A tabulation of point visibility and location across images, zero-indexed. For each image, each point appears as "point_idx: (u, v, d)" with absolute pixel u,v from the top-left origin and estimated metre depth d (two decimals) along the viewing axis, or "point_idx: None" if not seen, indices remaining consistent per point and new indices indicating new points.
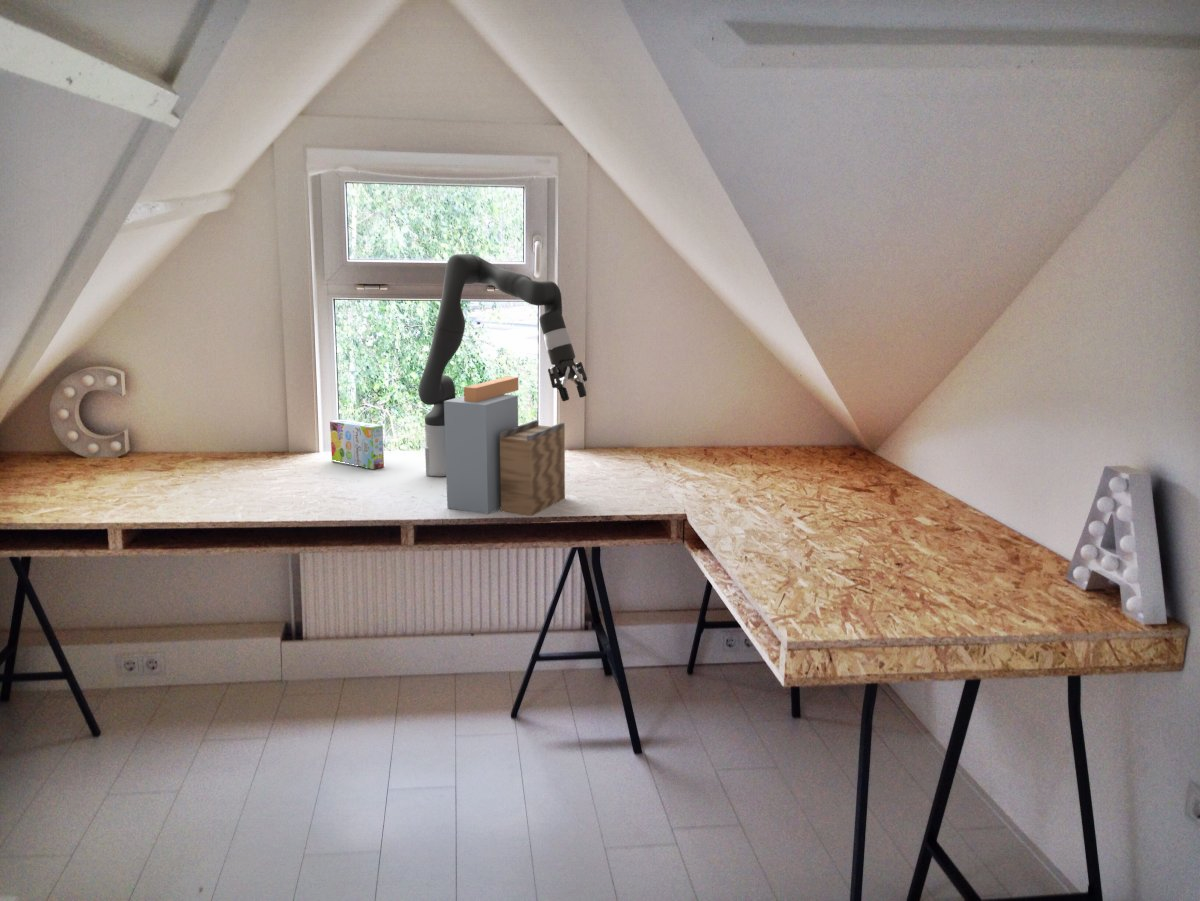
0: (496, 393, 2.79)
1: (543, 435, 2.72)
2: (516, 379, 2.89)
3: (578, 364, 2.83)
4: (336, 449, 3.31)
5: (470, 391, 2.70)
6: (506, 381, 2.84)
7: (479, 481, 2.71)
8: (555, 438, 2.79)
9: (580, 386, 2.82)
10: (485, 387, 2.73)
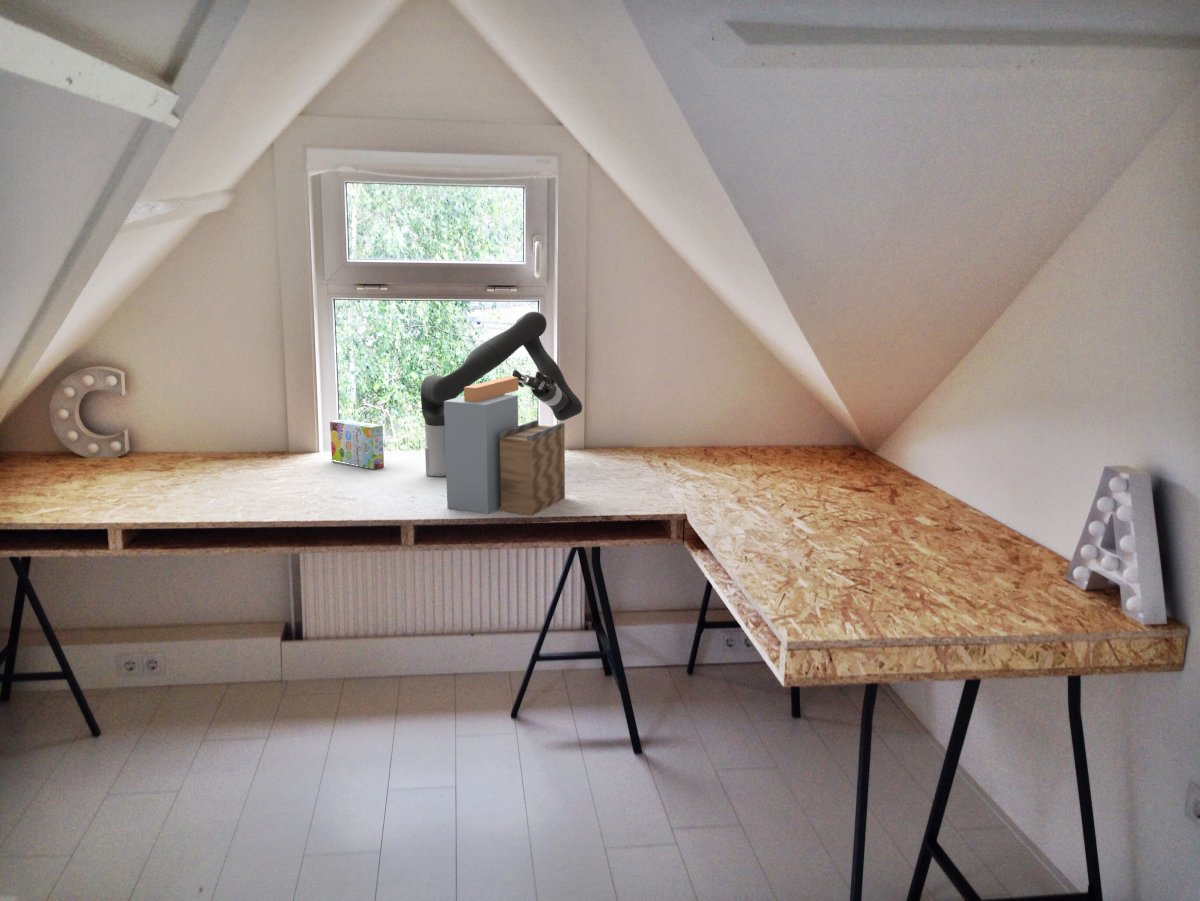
0: (496, 393, 2.79)
1: (543, 435, 2.72)
2: (516, 379, 2.89)
3: (523, 385, 3.16)
4: (336, 449, 3.31)
5: (470, 391, 2.70)
6: (506, 381, 2.84)
7: (479, 481, 2.71)
8: (555, 438, 2.79)
9: (519, 377, 3.10)
10: (485, 387, 2.73)
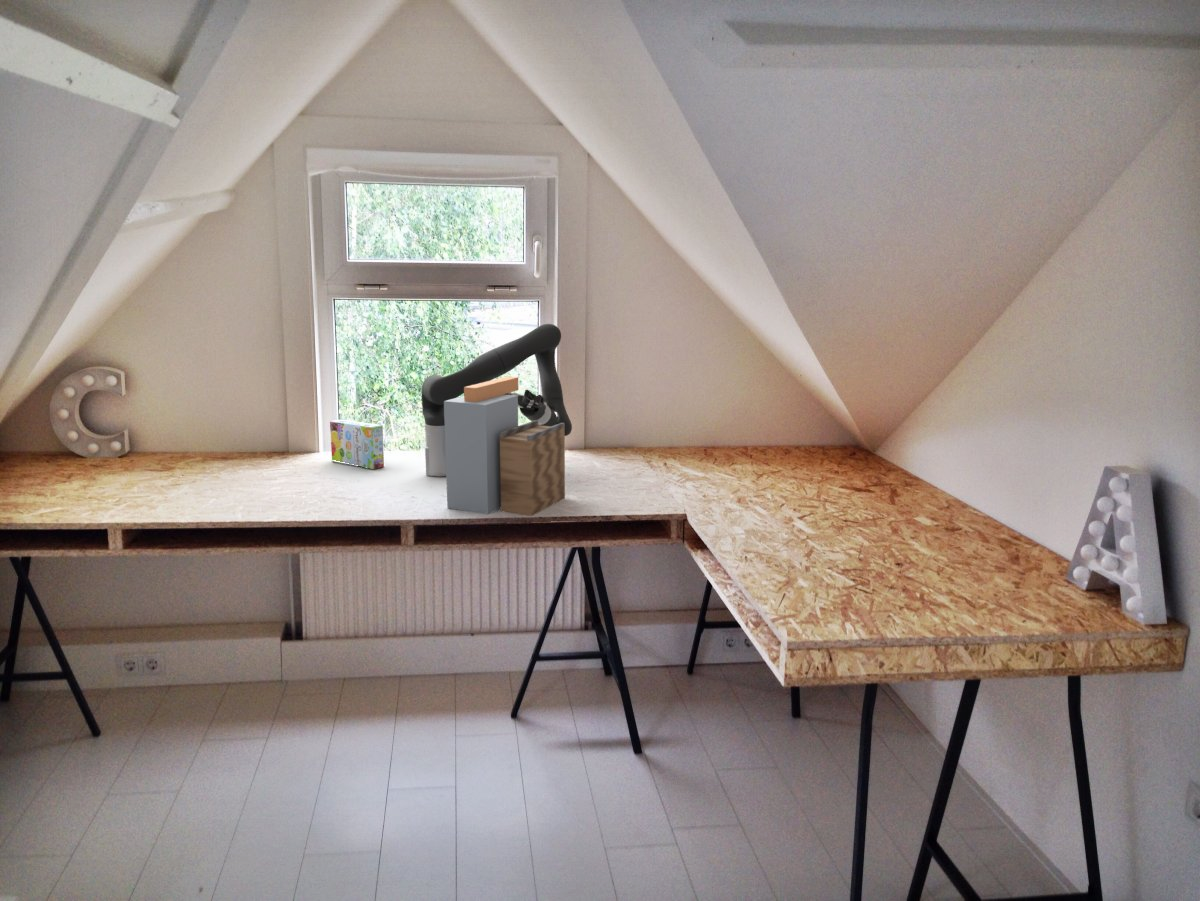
0: (496, 393, 2.79)
1: (543, 435, 2.72)
2: (516, 379, 2.89)
3: None
4: (336, 449, 3.31)
5: (470, 391, 2.70)
6: (506, 381, 2.84)
7: (479, 481, 2.71)
8: (555, 438, 2.79)
9: None
10: (485, 387, 2.73)
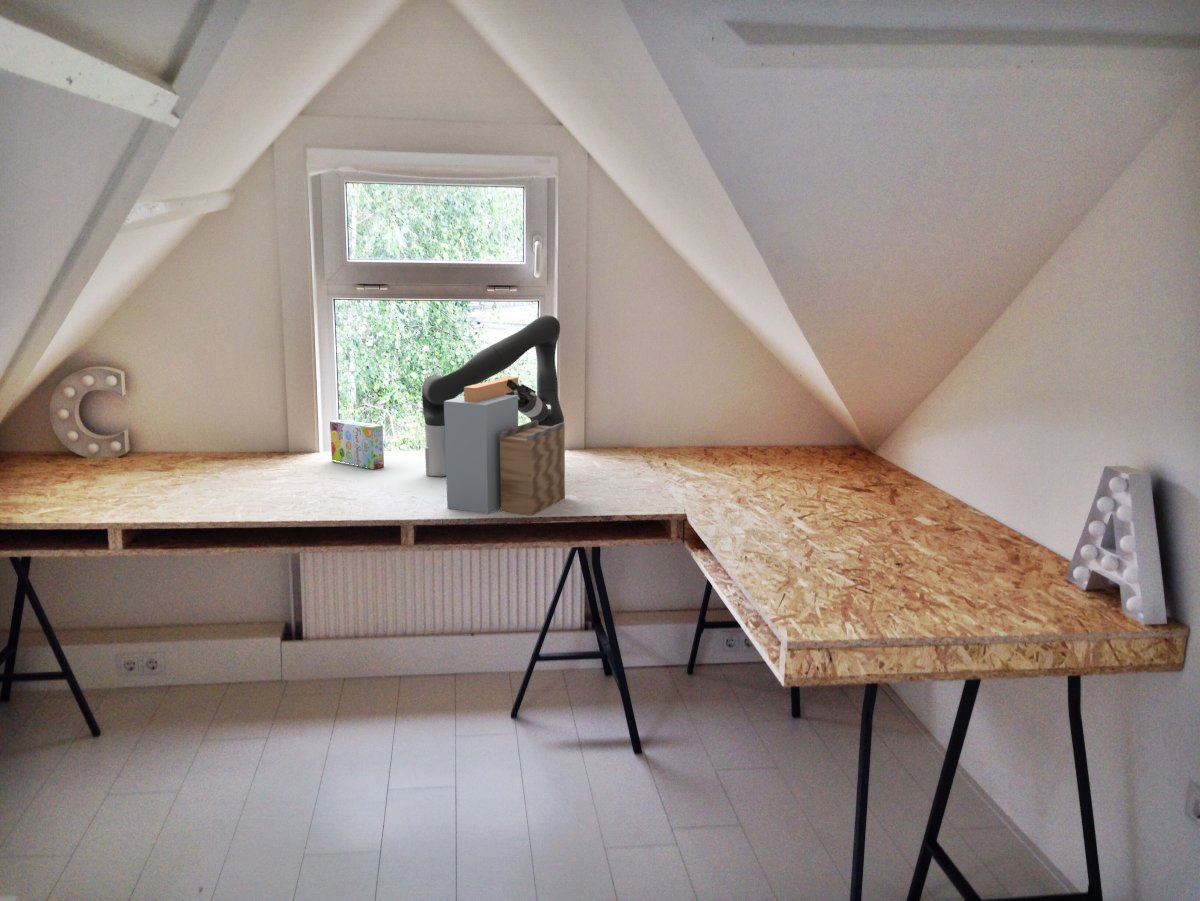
0: (496, 393, 2.79)
1: (543, 435, 2.72)
2: (516, 379, 2.89)
3: None
4: (336, 449, 3.31)
5: (470, 391, 2.70)
6: (506, 381, 2.84)
7: (479, 481, 2.71)
8: (555, 438, 2.79)
9: None
10: (485, 387, 2.73)
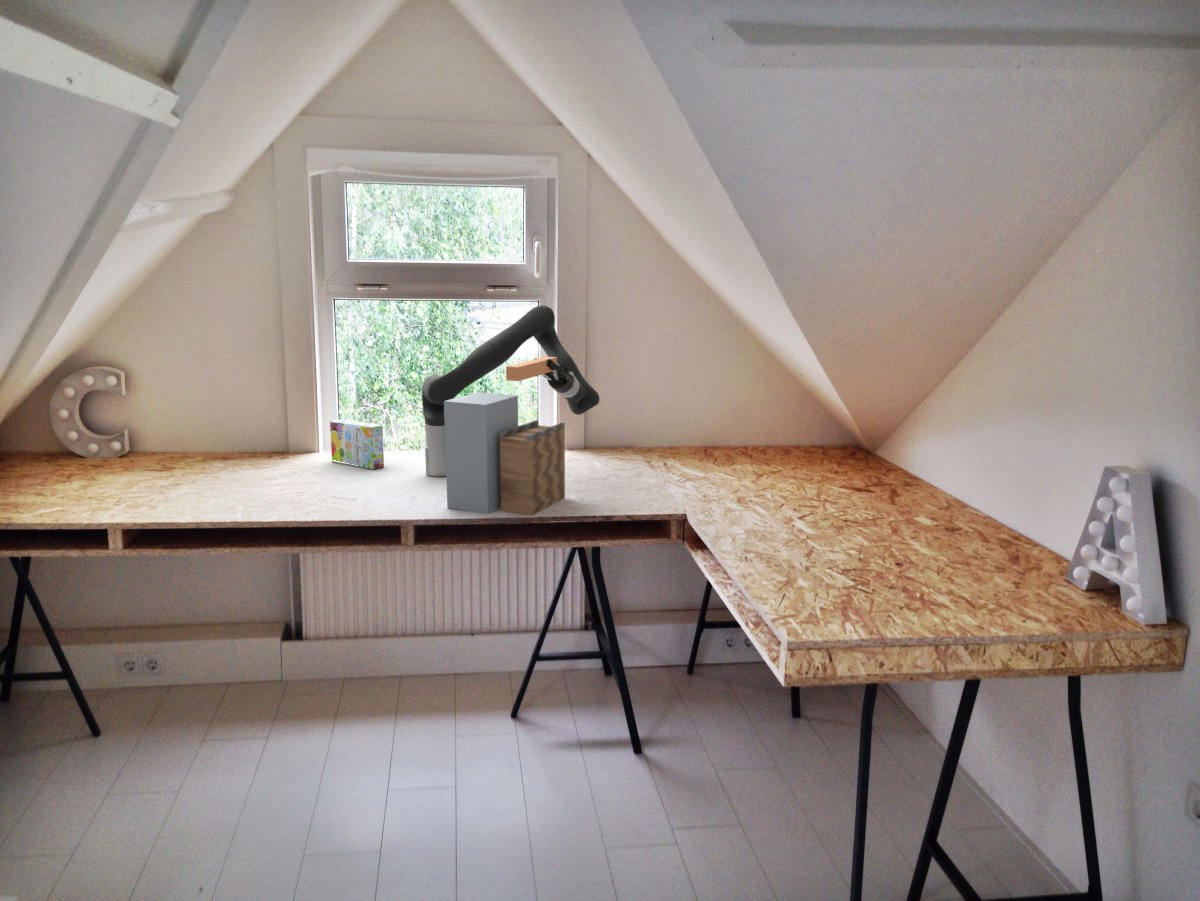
0: (536, 372, 2.79)
1: (543, 435, 2.72)
2: (555, 359, 2.89)
3: None
4: (336, 449, 3.31)
5: (512, 370, 2.69)
6: (546, 361, 2.84)
7: (479, 481, 2.71)
8: (555, 438, 2.79)
9: None
10: (527, 366, 2.73)
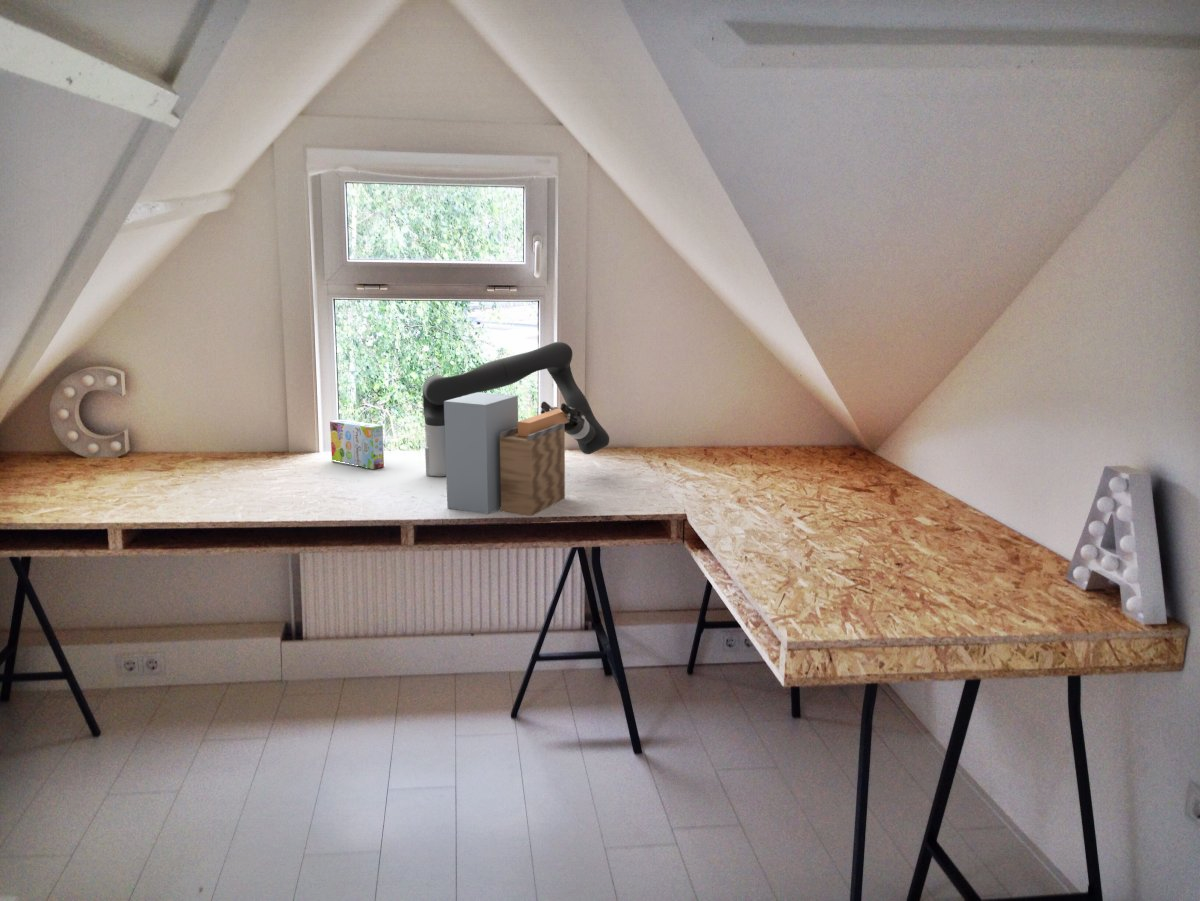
0: (548, 426, 2.81)
1: (543, 435, 2.72)
2: None
3: None
4: (336, 449, 3.31)
5: (523, 425, 2.71)
6: (557, 414, 2.85)
7: (479, 481, 2.71)
8: (555, 438, 2.79)
9: (547, 409, 2.90)
10: (538, 421, 2.75)
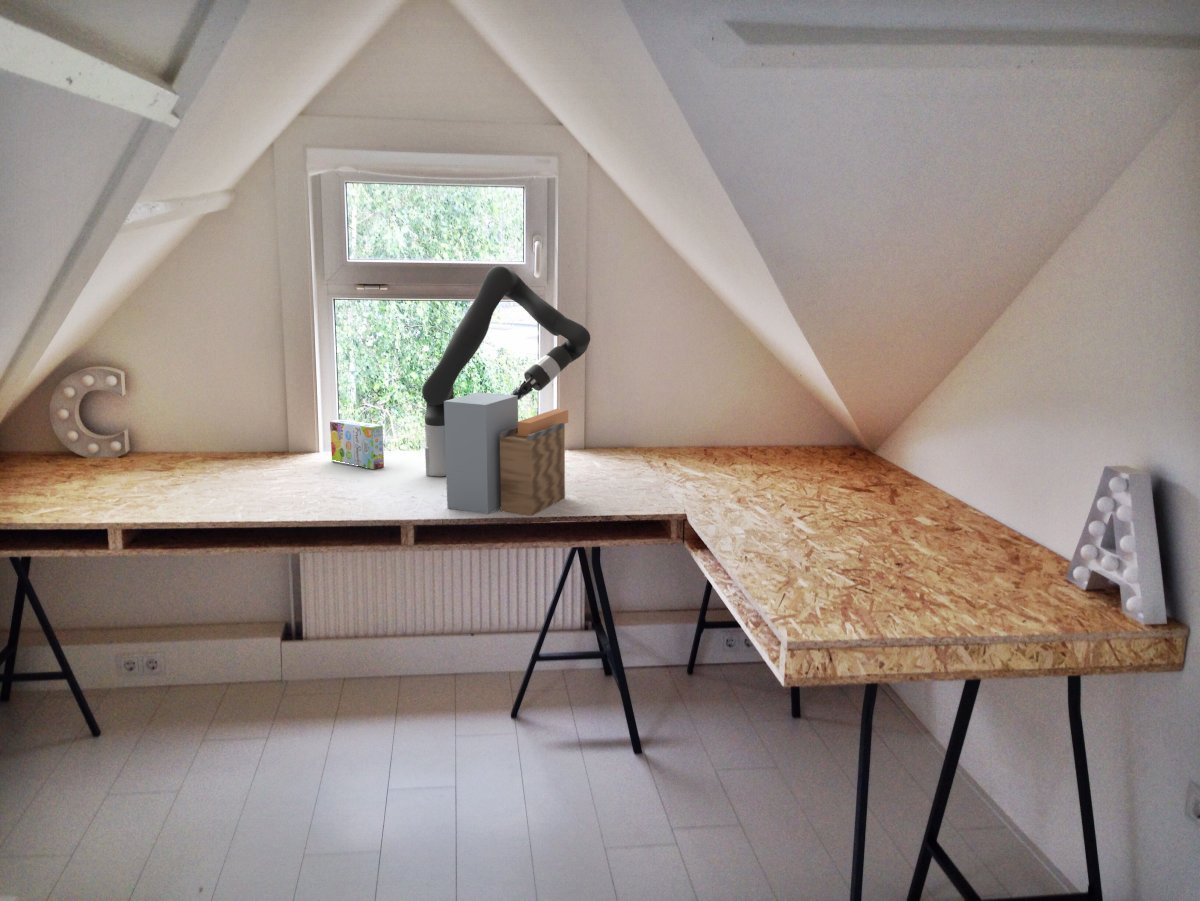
0: (548, 426, 2.81)
1: (543, 435, 2.72)
2: (566, 412, 2.91)
3: None
4: (336, 449, 3.31)
5: (523, 425, 2.71)
6: (557, 414, 2.85)
7: (479, 481, 2.71)
8: (555, 438, 2.79)
9: None
10: (538, 421, 2.75)
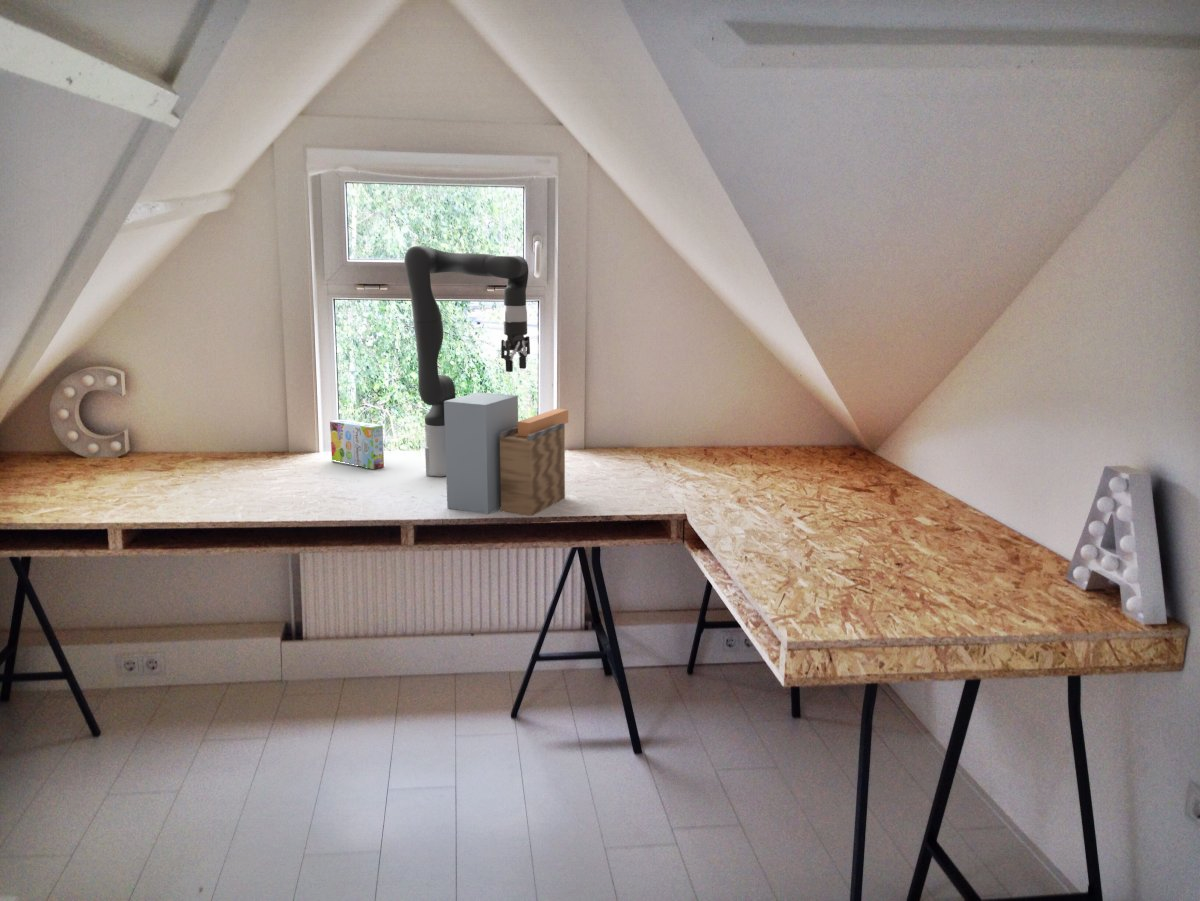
0: (548, 426, 2.81)
1: (543, 435, 2.72)
2: (566, 412, 2.91)
3: (526, 338, 3.07)
4: (336, 449, 3.31)
5: (523, 425, 2.71)
6: (557, 414, 2.85)
7: (479, 481, 2.71)
8: (555, 438, 2.79)
9: (523, 359, 3.07)
10: (538, 421, 2.75)
